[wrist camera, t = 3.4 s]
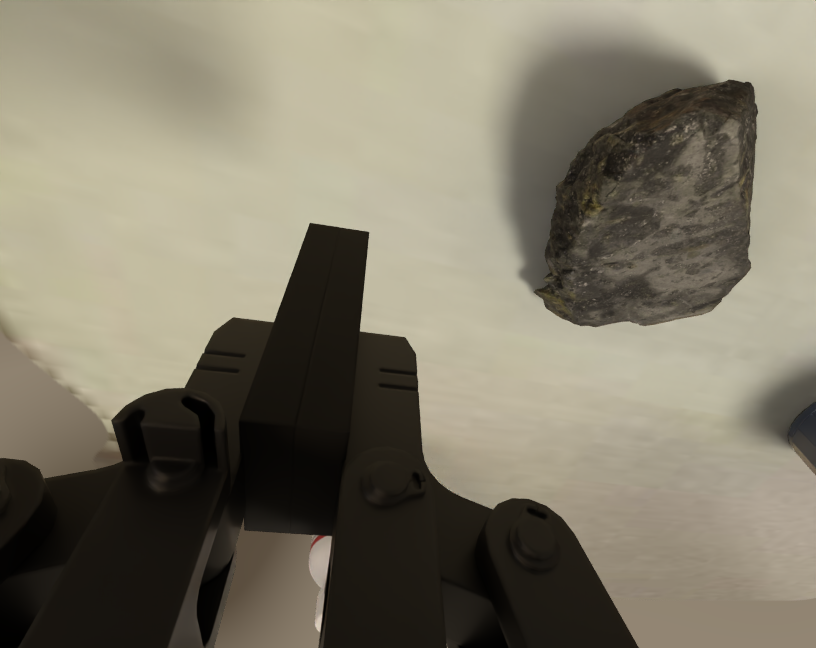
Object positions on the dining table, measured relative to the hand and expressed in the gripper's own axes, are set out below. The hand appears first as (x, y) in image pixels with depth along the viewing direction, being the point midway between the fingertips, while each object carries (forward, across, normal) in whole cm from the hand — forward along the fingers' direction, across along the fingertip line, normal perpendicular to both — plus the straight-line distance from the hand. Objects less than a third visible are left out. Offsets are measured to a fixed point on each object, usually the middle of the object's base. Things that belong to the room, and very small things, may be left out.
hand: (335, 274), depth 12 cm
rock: (+10, +13, 0) cm, 17 cm away
